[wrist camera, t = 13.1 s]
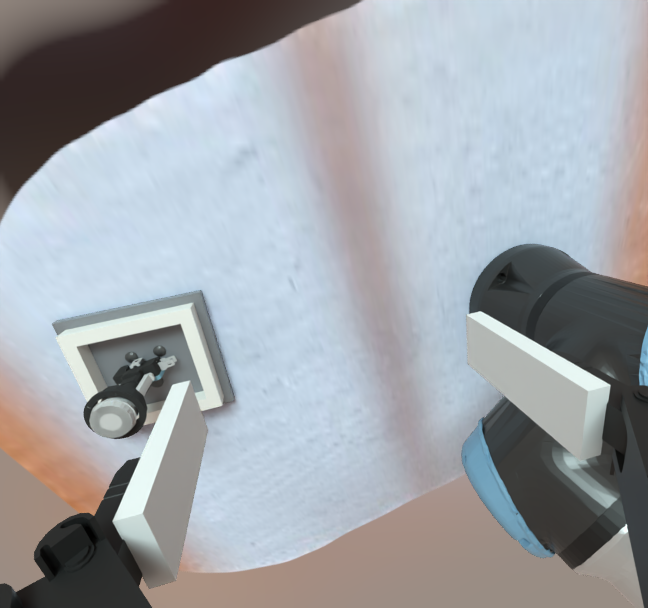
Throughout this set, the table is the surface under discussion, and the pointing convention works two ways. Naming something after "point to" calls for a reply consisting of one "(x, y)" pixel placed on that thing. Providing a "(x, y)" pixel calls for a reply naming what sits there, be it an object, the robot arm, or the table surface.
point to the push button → (125, 399)
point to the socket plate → (148, 349)
